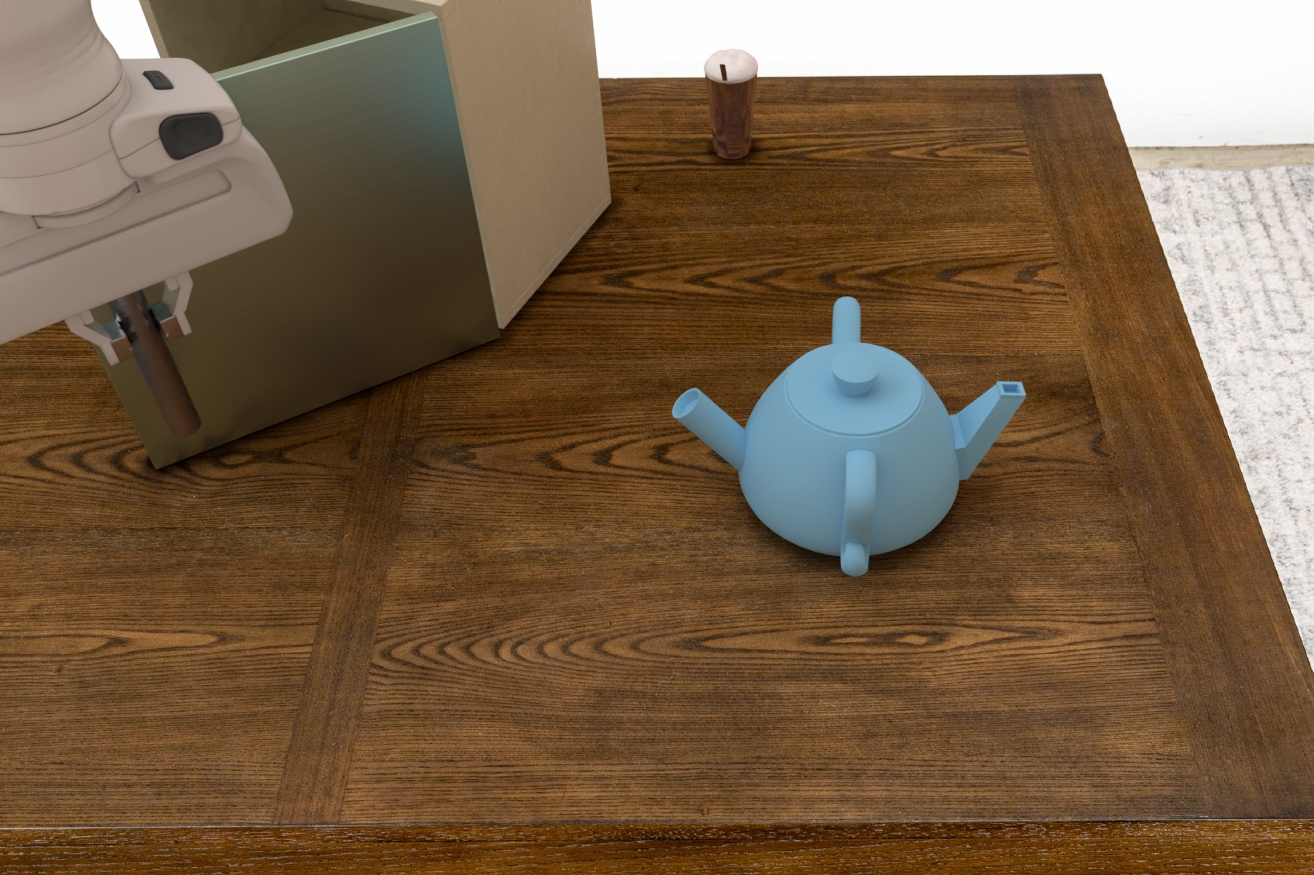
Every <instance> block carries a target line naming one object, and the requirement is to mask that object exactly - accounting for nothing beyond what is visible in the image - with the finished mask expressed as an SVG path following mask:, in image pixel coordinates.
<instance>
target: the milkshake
mask: <svg viewBox="0 0 1314 875" xmlns="http://www.w3.org/2000/svg"><path fill="white" fill-rule="evenodd" d="M758 71H759V63H758V61H757V59H756V57H754V56H753V55H752V54H750V52H747V51H746V50H744V49H740V48H728V49H719V50H717V51H715V52H713V53H712V54H711V55H710V56H709V57H708V58H707V59H706V61H705V62H704V64H703V72H704V77H705V78H704V79H705V83H706V84H705V85H706V92H707V98H708V108H709V109H708V110H709V117H710V118H709V119H710V127H711V128H710V129H711V135H712V145H713V146H712V147H713V151H714V152H715V154H716V155H717V157H719V158H721V159H726V160H740V159H743V158H744V157H746V156H749V153H750V150H751V148H752V138H753V125H754V124H753V123H754V112H755V100H756V90H757V81H758V80H757V79H758Z"/></svg>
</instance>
